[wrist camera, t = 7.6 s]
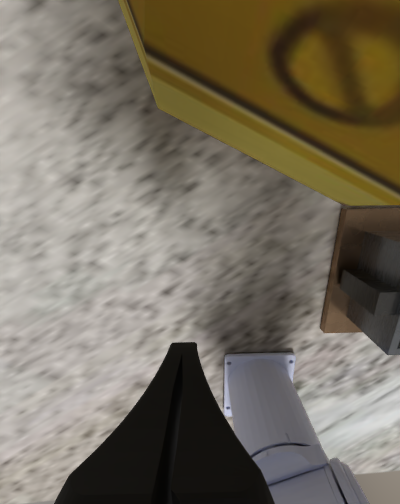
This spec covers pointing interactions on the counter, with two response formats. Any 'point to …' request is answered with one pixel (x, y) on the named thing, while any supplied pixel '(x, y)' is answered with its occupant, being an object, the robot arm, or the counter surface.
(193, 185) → the counter surface
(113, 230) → the counter surface
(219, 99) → the container
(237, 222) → the counter surface
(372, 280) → the knob box on board
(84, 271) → the counter surface
